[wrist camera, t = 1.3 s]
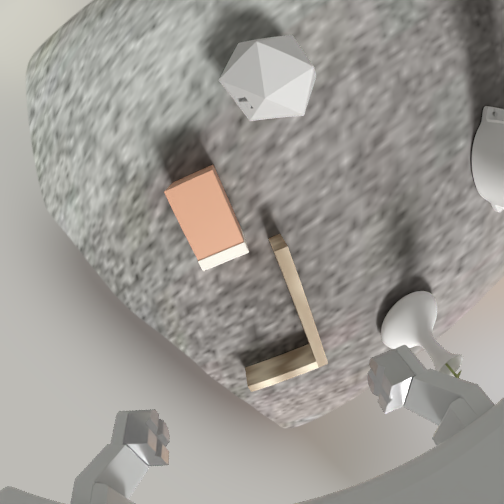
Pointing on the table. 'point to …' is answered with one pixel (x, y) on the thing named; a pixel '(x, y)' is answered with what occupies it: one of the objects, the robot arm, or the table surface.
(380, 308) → the table surface
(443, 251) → the table surface
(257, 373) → the wooden corner bracket
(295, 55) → the die
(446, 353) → the flower in vase
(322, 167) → the table surface
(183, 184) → the block
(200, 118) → the table surface
